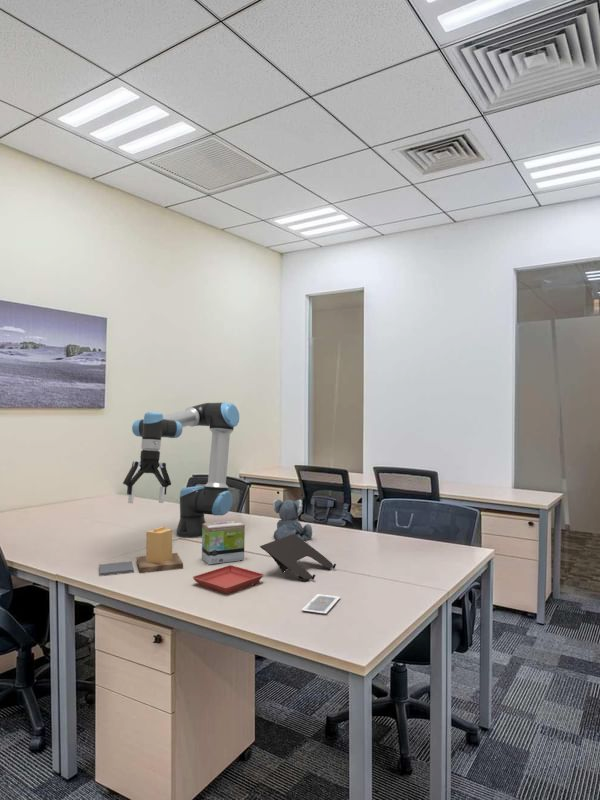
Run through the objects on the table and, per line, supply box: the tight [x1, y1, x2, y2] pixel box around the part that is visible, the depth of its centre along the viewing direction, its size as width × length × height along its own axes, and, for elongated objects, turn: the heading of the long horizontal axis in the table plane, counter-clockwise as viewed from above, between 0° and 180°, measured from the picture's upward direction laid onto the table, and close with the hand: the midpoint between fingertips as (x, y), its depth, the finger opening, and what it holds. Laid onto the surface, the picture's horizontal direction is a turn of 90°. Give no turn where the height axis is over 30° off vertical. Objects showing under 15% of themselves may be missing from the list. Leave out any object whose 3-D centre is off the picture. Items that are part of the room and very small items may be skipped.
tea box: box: [201, 520, 246, 566], centre depth 219 cm, size 15×10×15 cm
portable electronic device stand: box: [259, 534, 337, 582], centre depth 204 cm, size 23×23×9 cm
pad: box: [99, 561, 135, 576], centre depth 206 cm, size 12×12×1 cm
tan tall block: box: [145, 526, 173, 563], centre depth 212 cm, size 7×7×12 cm
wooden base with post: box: [136, 552, 184, 574], centre depth 212 cm, size 16×16×11 cm
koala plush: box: [272, 498, 313, 542], centre depth 251 cm, size 17×18×20 cm
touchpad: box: [301, 593, 341, 614], centre depth 168 cm, size 8×15×2 cm, turn 159°
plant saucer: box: [192, 565, 264, 594], centre depth 189 cm, size 18×18×3 cm
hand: (146, 503), depth 217 cm, fingers open, 13 cm apart
